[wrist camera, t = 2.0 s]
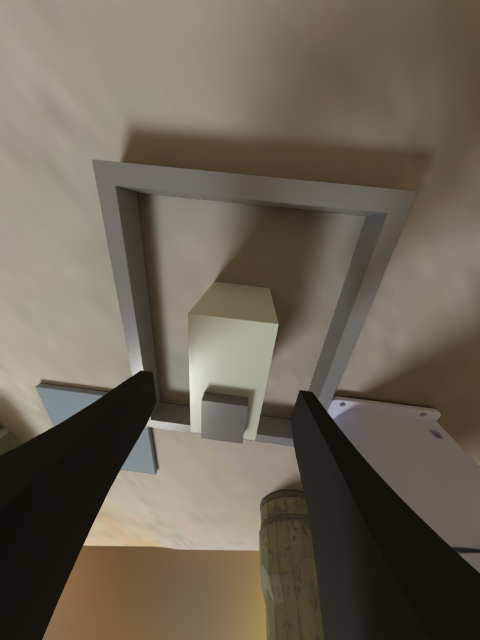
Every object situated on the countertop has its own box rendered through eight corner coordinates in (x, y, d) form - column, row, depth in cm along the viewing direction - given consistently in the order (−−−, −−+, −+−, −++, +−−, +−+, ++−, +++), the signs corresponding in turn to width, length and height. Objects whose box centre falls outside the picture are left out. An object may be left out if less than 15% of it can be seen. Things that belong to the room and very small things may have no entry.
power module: (269, 287, 14) (280, 330, 8) (255, 374, 17) (255, 450, 11) (214, 281, 14) (183, 319, 8) (211, 368, 17) (187, 441, 11)
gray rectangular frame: (390, 198, 11) (418, 191, 9) (306, 428, 19) (311, 448, 18) (118, 171, 11) (92, 159, 9) (152, 408, 20) (141, 425, 18)
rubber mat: (145, 397, 19) (143, 401, 19) (157, 470, 25) (155, 474, 24) (40, 383, 19) (35, 386, 19) (74, 458, 25) (71, 462, 24)
